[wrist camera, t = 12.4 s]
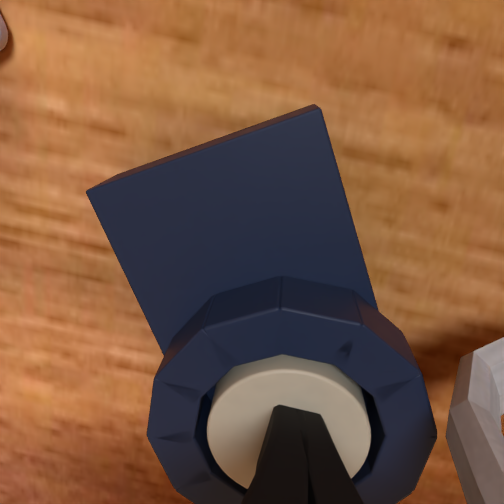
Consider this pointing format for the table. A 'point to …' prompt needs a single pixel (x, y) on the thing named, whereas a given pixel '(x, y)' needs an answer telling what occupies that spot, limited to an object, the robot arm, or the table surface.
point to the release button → (288, 394)
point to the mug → (479, 424)
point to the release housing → (259, 294)
